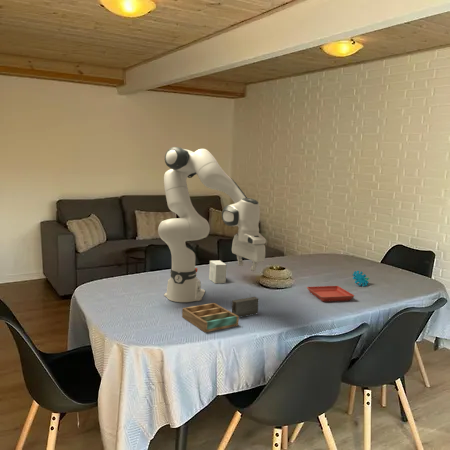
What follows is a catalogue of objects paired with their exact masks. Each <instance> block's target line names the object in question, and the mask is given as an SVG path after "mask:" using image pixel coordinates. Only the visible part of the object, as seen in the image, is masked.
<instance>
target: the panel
mask: <svg viewBox="0 0 450 450" xmlns="http://www.w3.org/2000/svg"><path fill="white" fill-rule="evenodd" d="M231 312H232V313H234V314H236V315H237V316H239V318H242V317H241V316H243V317H247V316H246V315H248V316H252V314H253V315H257V314H256V313H259V297H256V296H251V297H245V298H240V299H234V300H232V301H231Z"/></svg>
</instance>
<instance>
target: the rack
mask: <svg viewBox="0 0 450 450" xmlns="http://www.w3.org/2000/svg"><path fill="white" fill-rule="evenodd" d="M181 315H182V316H181V317H182V318H183V319H184V320H186V321H187V322H188V323H190V324H192V325H194V326H195V327H196V329H197V328H198V329H199V330H201V331H202V332H204V333H210V332H214V331H218V330H223V329H229V328H233V327H238V326H239V318H240V317H239V316H237V315H236V314H234V313H232V311H230V310H228V309H226V308H224V307H223V306H221V305H220V304H217V303H215V302H211V303H206V304H205V303H204V304H199V305H191V306H188V307H187V306H186V307H182V311H181Z"/></svg>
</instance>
